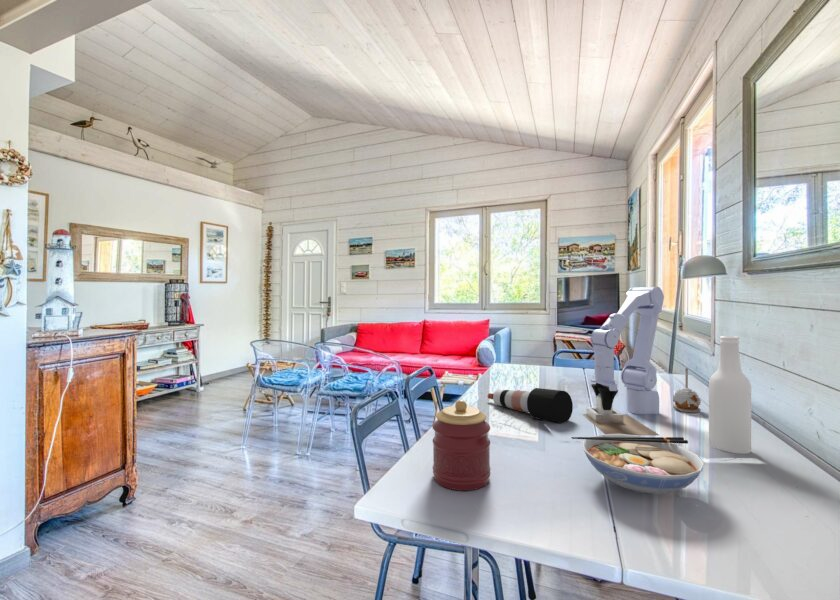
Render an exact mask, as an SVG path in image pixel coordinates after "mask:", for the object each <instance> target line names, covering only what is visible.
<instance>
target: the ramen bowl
mask: <svg viewBox="0 0 840 600" xmlns="http://www.w3.org/2000/svg"><path fill="white" fill-rule="evenodd" d="M571 440H583V441H582V450H583V452H584V454H585V456H586V457H587V459H588V460H589V463H590V464H591V465H592V466H593V468H594V469H595V470H596V471H597V472H599V474H601V475H602V476H603V477H604V478H606V479H607V480H608V481H610V482H612V483H614V484H616V485H618V486H620V487H621V488H624V489H627V490H629V491H632V492H634V493H638V494H644V495H654V494H655V495H657V494H659V495H660V494H670V493H674V492H677V491H680V490H682V489H685V488H687V487H688V486H690V485H691V484H692V483H694V481H695V480H696V479H697V478H698V477H699V475H700V474H701V472H702V471H703V468H704V465H705V462H704V461H703V460H702V459H701V457H700V456H699V455H698V454H697V453H695V452H693V451H692V450H689V449H687V448H685V447H684V446H681V445H678V444H685V445H686V444H689V440H688V439H685V438H684V437H683V436H679V437H678V436H676V437H675V436H672V437H671V436H670V437H668V436H666V437H662V436H661V437H660V436H654V437H653V436H645V435H627V434H604V433H603V434H598V435H593V436H589V437H588V436H586V437H585V436H584V437H582V436H581V437H580V436H573V437H572V436H571Z"/></svg>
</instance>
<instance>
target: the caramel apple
mask: <svg viewBox="0 0 840 600" xmlns="http://www.w3.org/2000/svg"><path fill="white" fill-rule="evenodd" d="M688 370H689V369H688V368H687V367H685V387H683V388H679V389H678V390H676V391H675V392H674V394H673V395H672V396H673V397H672V401H673V402H674V405H673V407H672V408H673V409H675V410H677V411H681V412H683V411H685V412H684V413H700V412H701V408H700V405H701V400H702V399H701V397H699V394H698V392H696V391H695V390H693V389H692V388H691V387H690V388H689V387H688V385H689V376H688V375H689V371H688ZM699 411H700V412H699Z"/></svg>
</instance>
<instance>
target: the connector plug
mask: <svg viewBox="0 0 840 600" xmlns="http://www.w3.org/2000/svg"><path fill="white" fill-rule="evenodd" d="M595 399H596V401H595V403H596V406H595V407H596V411H597V412H599V413H600V414H612V408H613V406H612V407H611V410H603V407H602V399H601V395H600V394H598V396H596V395H595Z"/></svg>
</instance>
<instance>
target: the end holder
mask: <svg viewBox="0 0 840 600" xmlns="http://www.w3.org/2000/svg"><path fill="white" fill-rule="evenodd" d="M585 411H586V412H585V414H586V415H588V416H589V417H590V418H591V419H592V420H594V421H595V422H596V423H623V413H621V412H620V411H618V410H617V409H615V408H614V407H612V414H600V413H599V412H597V411H596V406H593V407H592V406H591V407H590V406H586V410H585Z"/></svg>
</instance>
